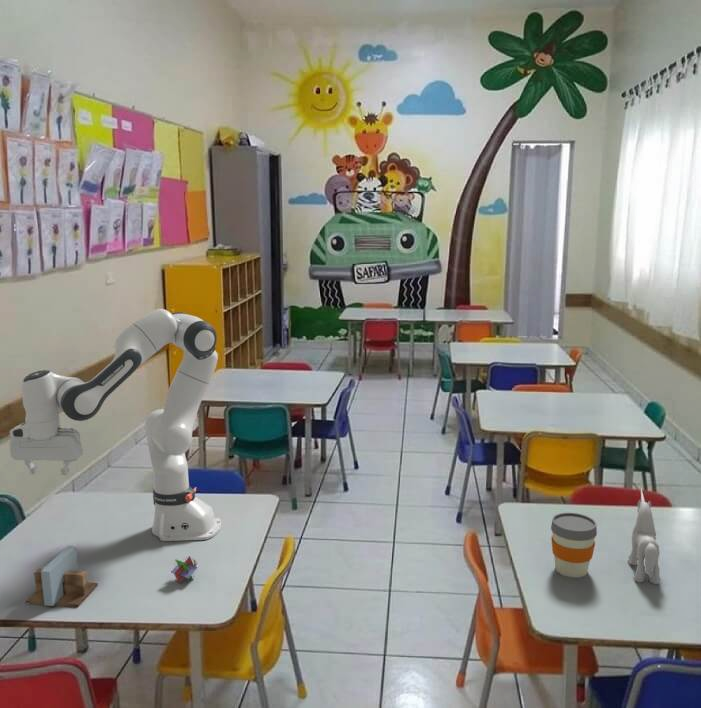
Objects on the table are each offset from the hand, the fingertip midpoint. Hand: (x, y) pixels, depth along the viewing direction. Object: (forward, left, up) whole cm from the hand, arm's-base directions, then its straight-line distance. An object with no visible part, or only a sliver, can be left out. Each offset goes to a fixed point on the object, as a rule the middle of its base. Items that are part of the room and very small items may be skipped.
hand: (49, 473), depth 203 cm
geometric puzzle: (-40, +3, -30) cm, 49 cm away
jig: (-9, +14, -29) cm, 34 cm away
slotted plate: (-9, +14, -29) cm, 33 cm away
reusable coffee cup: (-150, -15, -30) cm, 153 cm away
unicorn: (-170, -18, -30) cm, 174 cm away
